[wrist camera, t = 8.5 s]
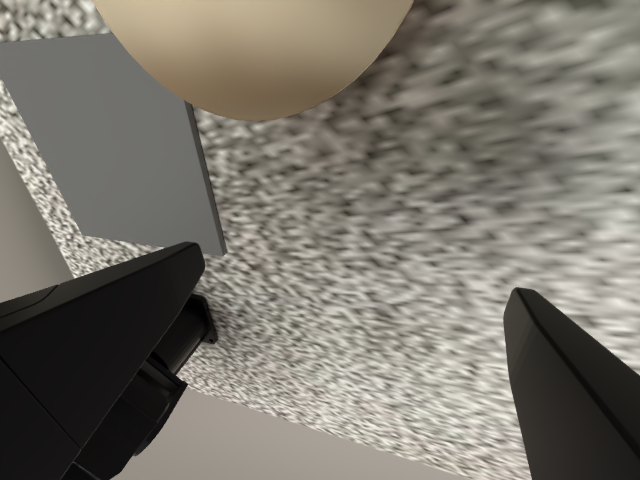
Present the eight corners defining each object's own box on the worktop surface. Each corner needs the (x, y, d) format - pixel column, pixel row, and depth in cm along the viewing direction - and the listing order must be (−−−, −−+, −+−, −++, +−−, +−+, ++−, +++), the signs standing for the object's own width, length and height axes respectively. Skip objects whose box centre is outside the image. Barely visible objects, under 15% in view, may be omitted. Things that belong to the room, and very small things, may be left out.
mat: (226, 252, 27) (222, 256, 26) (87, 232, 31) (82, 235, 31) (172, 28, 18) (165, 28, 18) (-7, 44, 23) (-16, 44, 22)
